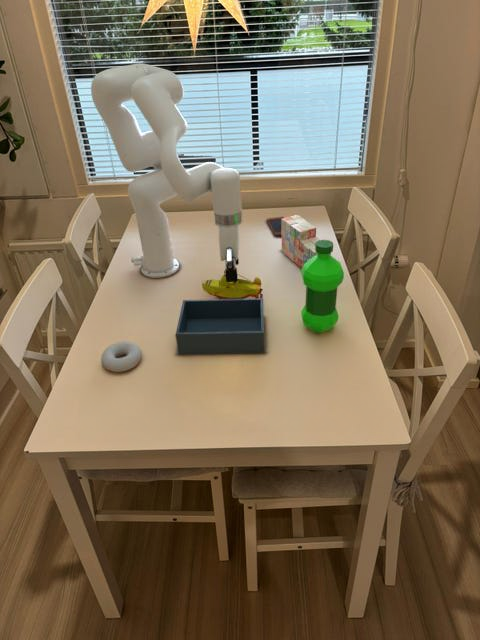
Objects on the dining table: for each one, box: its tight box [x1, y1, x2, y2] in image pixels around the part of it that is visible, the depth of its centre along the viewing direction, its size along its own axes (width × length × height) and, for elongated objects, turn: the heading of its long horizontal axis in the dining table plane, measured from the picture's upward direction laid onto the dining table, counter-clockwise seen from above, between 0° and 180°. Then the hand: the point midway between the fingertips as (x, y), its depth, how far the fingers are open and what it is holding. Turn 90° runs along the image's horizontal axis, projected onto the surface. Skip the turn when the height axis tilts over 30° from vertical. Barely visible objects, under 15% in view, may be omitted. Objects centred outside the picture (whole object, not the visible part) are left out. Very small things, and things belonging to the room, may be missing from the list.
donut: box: [101, 341, 142, 373], centre depth 120 cm, size 10×4×10 cm
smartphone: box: [266, 216, 285, 237], centre depth 180 cm, size 7×1×15 cm
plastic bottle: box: [300, 239, 345, 334], centre depth 122 cm, size 10×10×25 cm
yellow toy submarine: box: [201, 270, 264, 299], centre depth 139 cm, size 6×18×10 cm, turn 78°
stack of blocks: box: [281, 214, 332, 269], centre depth 155 cm, size 21×6×12 cm, turn 23°
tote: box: [175, 297, 265, 355], centre depth 126 cm, size 22×15×7 cm
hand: (232, 272), depth 137 cm, fingers open, 9 cm apart
